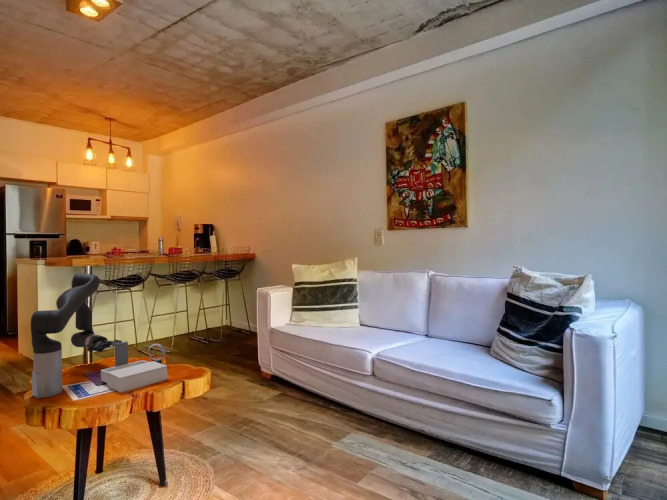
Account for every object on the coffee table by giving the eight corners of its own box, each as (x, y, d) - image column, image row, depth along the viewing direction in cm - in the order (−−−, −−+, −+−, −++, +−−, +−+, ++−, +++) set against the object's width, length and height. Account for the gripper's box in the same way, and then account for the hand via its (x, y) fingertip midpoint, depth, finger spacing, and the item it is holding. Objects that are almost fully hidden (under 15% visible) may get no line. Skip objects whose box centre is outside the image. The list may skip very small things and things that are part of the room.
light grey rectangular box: (120, 392, 162) (120, 377, 162) (107, 386, 170) (106, 372, 170) (167, 379, 178) (167, 365, 178) (153, 374, 186) (153, 361, 186)
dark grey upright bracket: (112, 385, 169) (112, 351, 168) (99, 379, 177) (98, 346, 176) (155, 374, 183) (154, 342, 183) (141, 368, 191) (140, 338, 191)
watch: (166, 367, 196) (165, 344, 196) (147, 369, 193) (147, 346, 193) (165, 363, 202) (165, 341, 201) (147, 366, 198) (147, 343, 198)
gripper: (80, 337, 194) (94, 343, 184) (111, 332, 206) (126, 337, 195) (80, 353, 195) (94, 359, 184) (111, 347, 206) (126, 352, 196)
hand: (110, 347), depth 190 cm, fingers open, 8 cm apart
